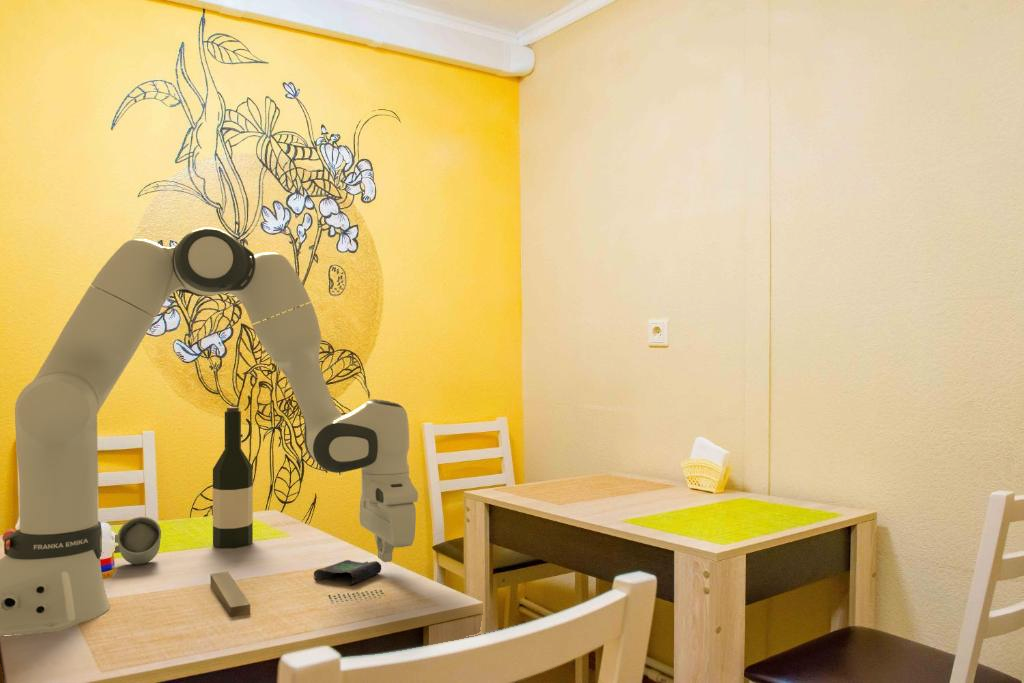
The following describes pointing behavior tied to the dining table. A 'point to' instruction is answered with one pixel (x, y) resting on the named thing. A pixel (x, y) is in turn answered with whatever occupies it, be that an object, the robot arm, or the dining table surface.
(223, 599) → the bar
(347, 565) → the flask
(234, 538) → the wine bottle
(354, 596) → the woven mat
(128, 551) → the ceramic mug
